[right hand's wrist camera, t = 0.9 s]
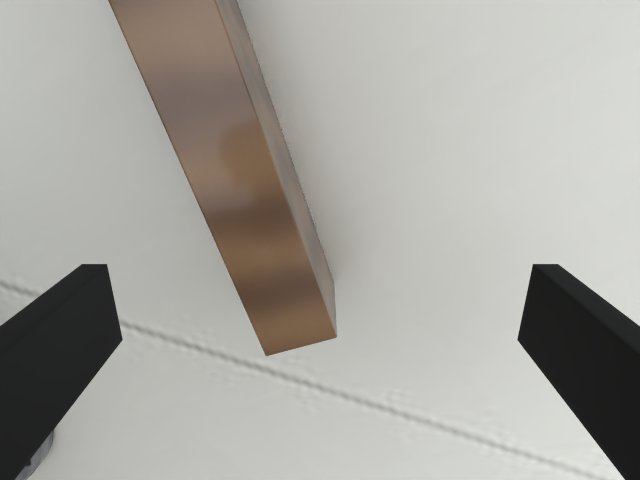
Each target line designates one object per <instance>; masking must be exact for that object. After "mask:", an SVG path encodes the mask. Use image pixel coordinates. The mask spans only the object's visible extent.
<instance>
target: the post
mask: <svg viewBox="0 0 640 480" xmlns="http://www.w3.org/2000/svg"><path fill="white" fill-rule="evenodd" d="M108 1H109V3H110V5H111V7H112V10H113V12H114V14H115V17H116V19H117V21H118V23H119V26H120V28H121V30H122V32H123V35H124V37H125V39H126V41H127V44H128V46H129V48H130V50H131V53H132V55H133V57H134V59H135V62H136V64H137V66H138V68H139V71H140V73H141V75H142V77H143V80H144V82H145V84H146V86H147V89H148V91H149V93H150V96H151V98H152V100H153V102H154V105H155V107H156V109H157V111H158V114H159V116H160V118H161V120H162V123H163V125H164V127H165V129H166V132H167V134H168V136H169V138H170V141H171V143H172V145H173V147H174V150H175V152H176V154H177V156H178V159H179V161H180V163H181V165H182V168H183V170H184V172H185V175H186V177H187V179H188V181H189V184H190V186H191V188H192V190H193V193H194V195H195V197H196V199H197V202H198V204H199V206H200V208H201V211H202V213H203V215H204V217H205V220H206V222H207V224H208V226H209V229H210V231H211V233H212V235H213V238H214V240H215V242H216V244H217V247H218V249H219V251H220V254H221V256H222V258H223V260H224V263H225V265H226V267H227V269H228V272H229V274H230V276H231V278H232V281H233V283H234V285H235V287H236V290H237V292H238V294H239V296H240V299H241V301H242V303H243V305H244V308H245V310H246V312H247V314H248V317H249V319H250V321H251V323H252V326H253V328H254V330H255V333H256V335H257V337H258V339H259V342H260V344H261V346H262V348H263V351H264V353H265V355H266V356H269V355H272V354H276V353H280V352H284V351H288V350H291V349H295V348H299V347H303V346H307V345H310V344H314V343H318V342H322V341H325V340H329V339H333V338H336V337H337V330H336V311H335V291H334V282H333V279H332V276H331V273H330V270H329V267H328V264H327V261H326V258H325V256H324V253H323V250H322V247H321V244H320V241H319V238H318V235H317V232H316V229H315V227H314V224H313V221H312V218H311V215H310V212H309V209H308V206H307V203H306V200H305V197H304V195H303V192H302V189H301V186H300V183H299V180H298V177H297V174H296V171H295V168H294V165H293V163H292V160H291V157H290V154H289V151H288V148H287V145H286V142H285V139H284V136H283V133H282V131H281V128H280V125H279V122H278V119H277V116H276V113H275V110H274V107H273V104H272V101H271V99H270V96H269V93H268V90H267V87H266V84H265V81H264V78H263V75H262V72H261V70H260V67H259V64H258V61H257V58H256V55H255V52H254V49H253V46H252V43H251V40H250V38H249V35H248V32H247V29H246V26H245V23H244V20H243V17H242V14H241V11H240V8H239V6H238V3H237V0H108Z"/></svg>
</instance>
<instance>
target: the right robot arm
mask: <svg viewBox="0 0 640 480" xmlns="http://www.w3.org/2000/svg"><path fill="white" fill-rule="evenodd" d="M121 341H122V335H121V330H120V325H119V320H118V316H117V311H116V306H115V301H114V296H113V291H112V286H111V282H110V277H109V272H108V267H107V264H82V265H80V266H79V267H78V268H76V269H75V270H74V271H72V272H71V273H70V274H68V275H67V276H66V277H65V278H63V279H62V280H61V281H59V282H58V283H57V284H55V285H54V286H53V287H51V288H50V289H49V290H47V291H46V292H45V293H43V294H42V295H41V296H40V297H38V298H37V299H36V300H34V301H33V302H32V303H30V304H29V305H28V306H26V307H25V308H24V309H22V310H21V311H20V312H19V313H17V314H16V315H15V316H13V317H12V318H11V319H9V320H8V321H7V322H5V323H4V324H3V325H1V326H0V480H26V479H27V478H28V477H30V476H31V475H32V473H33V472H34V471H35V470H36V468H37V467H38V466H39V464H40V463H41V462H42V460H43V459H44V458H45V456H46V455H47V453H48V451H49V449H50V447H51V443H52V437H53V430H54V428H55V427H56V426H57V424H58V423H59V422H60V420H61V419H62V418H63V417H64V415H65V414H66V413H67V411H68V410H69V409H70V407H71V406H72V405H73V404H74V402H75V401H76V400H77V398H78V397H79V396H80V394H81V393H82V392H83V391H84V389H85V388H86V387H87V385H88V384H89V383H90V381H91V380H92V379H93V378H94V376H95V375H96V374H97V372H98V371H99V370H100V368H101V367H102V366H103V365H104V363H105V362H106V361H107V359H108V358H109V357H110V355H111V354H112V353H113V352H114V350H115V349H116V348H117V346H118V345H119V344H120V342H121ZM518 341H519V342H520V344H521V345H522V346H523V348H524V349H525V350H526V352H527V353H528V354H529V355H530V357H531V358H532V359H533V361H534V362H535V363H536V365H537V366H538V367H539V368H540V370H541V371H542V372H543V374H544V375H545V376H546V378H547V379H548V380H549V381H550V383H551V384H552V385H553V387H554V388H555V389H556V391H557V392H558V393H559V394H560V396H561V397H562V398H563V400H564V401H565V402H566V404H567V405H568V406H569V407H570V409H571V410H572V411H573V413H574V414H575V415H576V417H577V418H578V419H579V420H580V422H581V423H582V424H583V426H584V427H585V428H586V430H587V431H588V432H589V433H590V435H591V436H592V437H593V439H594V440H595V441H596V443H597V444H598V445H599V446H600V448H601V449H602V450H603V452H604V453H605V454H606V456H607V457H608V458H609V459H610V461H611V462H612V463H613V465H614V466H615V467H616V468H617V470H618V471H619V472H620V474H621V475H622V476H623V478H624V479H625V480H640V326H639V325H637V324H636V323H635V322H633V321H632V320H631V319H629V318H628V317H627V316H625V315H624V314H623V313H621V312H620V311H619V310H618V309H616V308H615V307H614V306H612V305H611V304H610V303H608V302H607V301H606V300H604V299H603V298H602V297H600V296H599V295H598V294H596V293H595V292H594V291H593V290H591V289H590V288H589V287H587V286H586V285H585V284H583V283H582V282H581V281H579V280H578V279H577V278H575V277H574V276H573V275H572V274H570V273H569V272H568V271H566V270H565V269H564V268H562V267H561V266H560V265H558V264H533V267H532V272H531V277H530V282H529V286H528V291H527V296H526V301H525V306H524V311H523V315H522V320H521V325H520V330H519V335H518Z"/></svg>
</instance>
